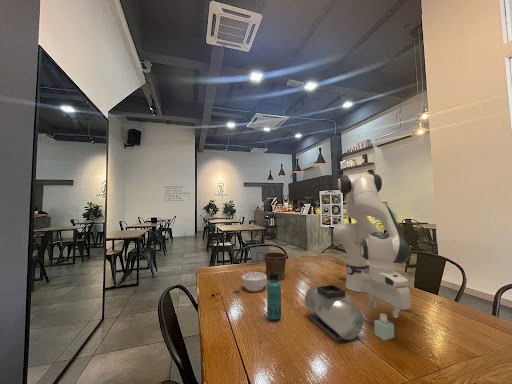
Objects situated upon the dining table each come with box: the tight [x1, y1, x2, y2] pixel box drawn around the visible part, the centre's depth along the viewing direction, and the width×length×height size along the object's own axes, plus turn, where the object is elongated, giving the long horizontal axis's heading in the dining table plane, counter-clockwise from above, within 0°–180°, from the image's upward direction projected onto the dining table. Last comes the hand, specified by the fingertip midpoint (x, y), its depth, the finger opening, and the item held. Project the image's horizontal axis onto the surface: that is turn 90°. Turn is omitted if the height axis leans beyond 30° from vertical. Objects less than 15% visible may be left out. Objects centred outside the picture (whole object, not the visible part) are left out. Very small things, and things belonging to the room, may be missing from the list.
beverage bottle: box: [266, 273, 282, 320], centre depth 99 cm, size 6×7×20 cm
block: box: [373, 312, 395, 341], centre depth 86 cm, size 5×4×8 cm
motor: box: [304, 284, 364, 343], centre depth 94 cm, size 12×26×16 cm, turn 19°
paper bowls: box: [241, 271, 268, 292], centre depth 135 cm, size 15×15×8 cm
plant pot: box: [263, 251, 288, 282], centre depth 154 cm, size 16×16×16 cm
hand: (383, 311), depth 86 cm, fingers open, 8 cm apart
